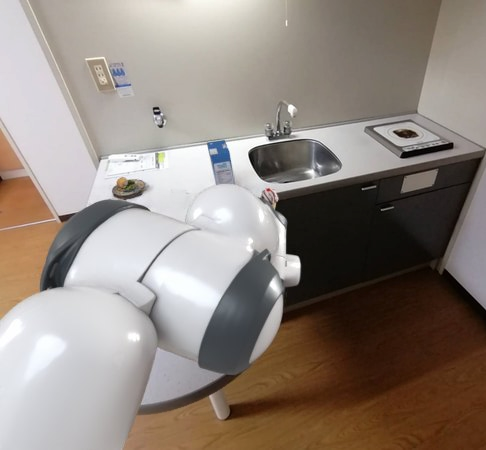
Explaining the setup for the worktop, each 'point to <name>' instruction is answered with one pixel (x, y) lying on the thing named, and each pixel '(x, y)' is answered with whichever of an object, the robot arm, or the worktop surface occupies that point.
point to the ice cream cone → (270, 196)
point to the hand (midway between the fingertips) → (181, 271)
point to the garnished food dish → (127, 188)
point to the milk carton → (221, 162)
